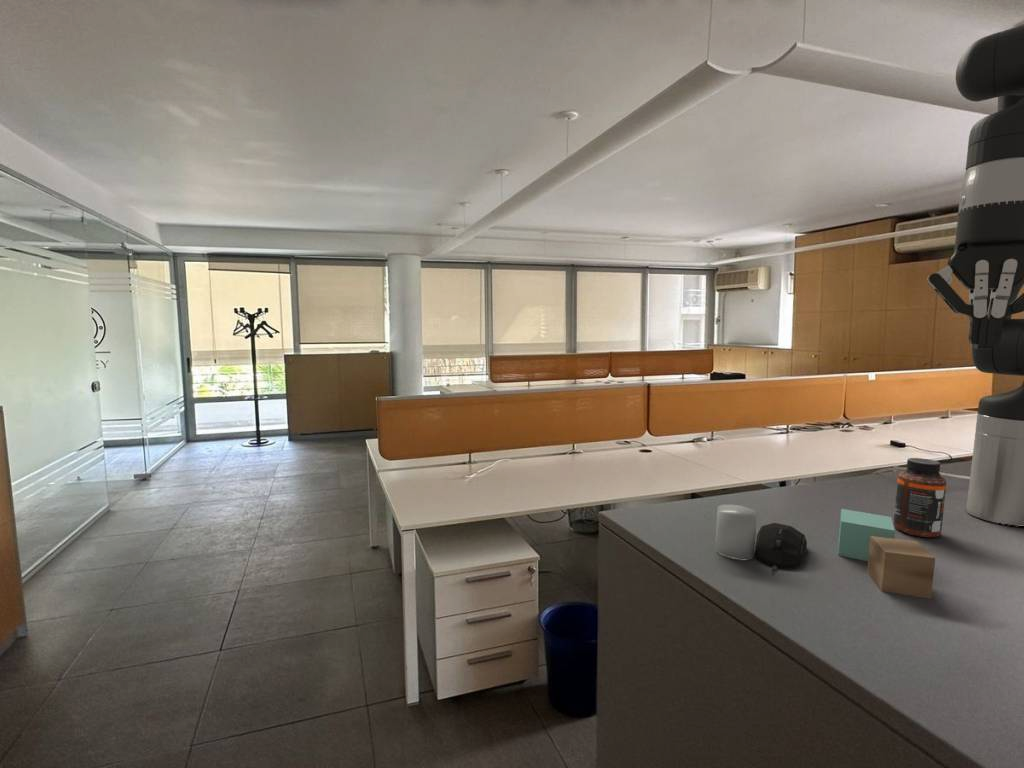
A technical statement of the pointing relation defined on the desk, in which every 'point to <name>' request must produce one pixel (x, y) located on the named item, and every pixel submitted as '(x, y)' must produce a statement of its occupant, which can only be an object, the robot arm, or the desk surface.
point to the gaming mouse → (780, 546)
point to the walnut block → (901, 566)
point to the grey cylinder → (736, 531)
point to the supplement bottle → (920, 498)
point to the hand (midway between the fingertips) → (982, 348)
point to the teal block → (861, 532)
